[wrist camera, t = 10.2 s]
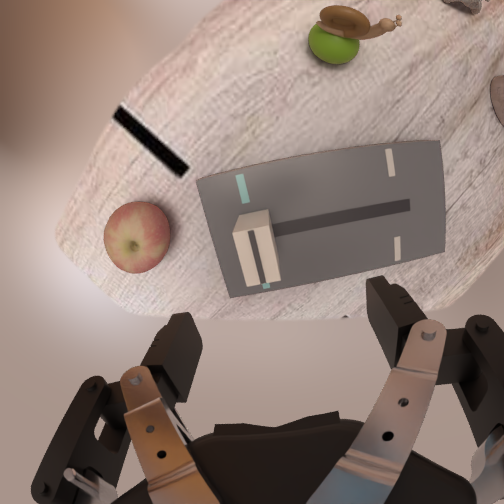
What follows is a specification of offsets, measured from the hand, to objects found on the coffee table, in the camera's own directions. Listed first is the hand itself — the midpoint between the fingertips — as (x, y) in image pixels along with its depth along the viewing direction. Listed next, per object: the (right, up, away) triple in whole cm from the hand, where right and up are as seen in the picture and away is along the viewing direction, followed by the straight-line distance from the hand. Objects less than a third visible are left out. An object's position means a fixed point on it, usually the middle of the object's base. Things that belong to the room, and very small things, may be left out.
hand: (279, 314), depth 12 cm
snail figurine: (+8, +26, +12) cm, 29 cm away
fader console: (+8, +7, +19) cm, 22 cm away
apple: (-14, +6, +21) cm, 25 cm away
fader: (0, +5, +17) cm, 17 cm away
